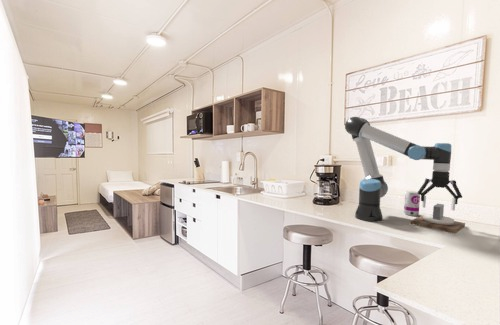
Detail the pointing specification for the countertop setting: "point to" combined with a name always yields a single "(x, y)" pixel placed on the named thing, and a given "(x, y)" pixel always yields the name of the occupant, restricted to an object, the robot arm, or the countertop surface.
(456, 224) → the dial base
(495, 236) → the countertop surface
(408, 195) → the supplement can
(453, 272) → the countertop surface
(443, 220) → the dial
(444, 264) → the countertop surface
